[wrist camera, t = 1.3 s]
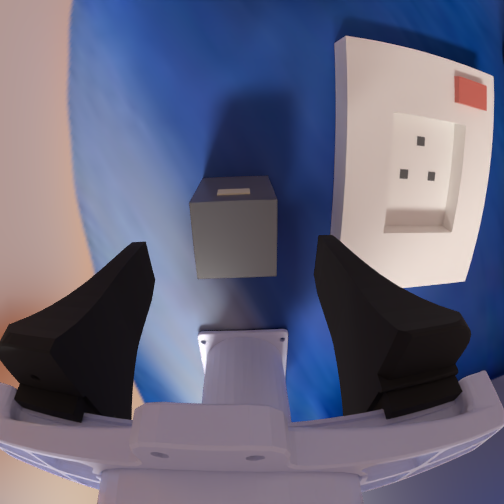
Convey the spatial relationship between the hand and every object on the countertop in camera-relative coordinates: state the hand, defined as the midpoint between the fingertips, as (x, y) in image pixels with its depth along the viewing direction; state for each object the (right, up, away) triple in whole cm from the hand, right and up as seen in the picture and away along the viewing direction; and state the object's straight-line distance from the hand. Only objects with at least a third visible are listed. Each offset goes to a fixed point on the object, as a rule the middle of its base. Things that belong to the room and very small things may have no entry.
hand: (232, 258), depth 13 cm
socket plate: (+13, +7, +8) cm, 17 cm away
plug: (0, +3, +9) cm, 10 cm away
